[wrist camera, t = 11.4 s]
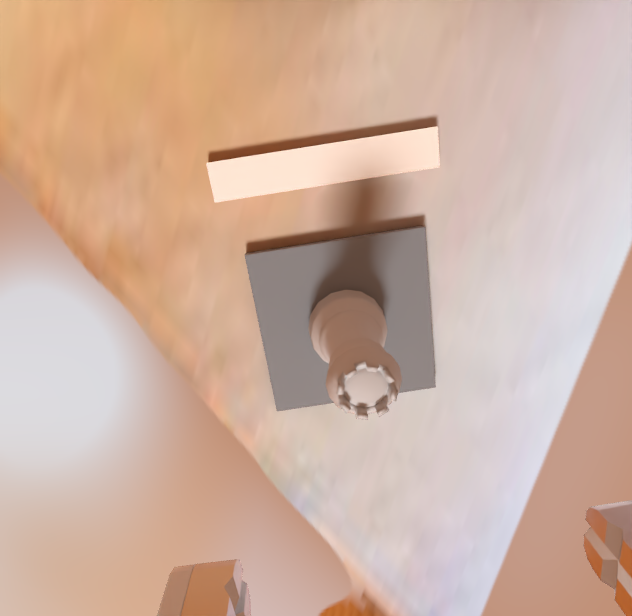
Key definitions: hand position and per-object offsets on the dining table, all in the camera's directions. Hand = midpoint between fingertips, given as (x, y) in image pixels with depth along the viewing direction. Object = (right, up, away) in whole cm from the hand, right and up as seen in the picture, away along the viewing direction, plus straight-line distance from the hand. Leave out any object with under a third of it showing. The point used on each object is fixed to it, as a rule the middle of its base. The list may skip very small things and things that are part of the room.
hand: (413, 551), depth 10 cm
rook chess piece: (-1, +5, +15) cm, 16 cm away
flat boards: (-1, +7, +15) cm, 16 cm away
